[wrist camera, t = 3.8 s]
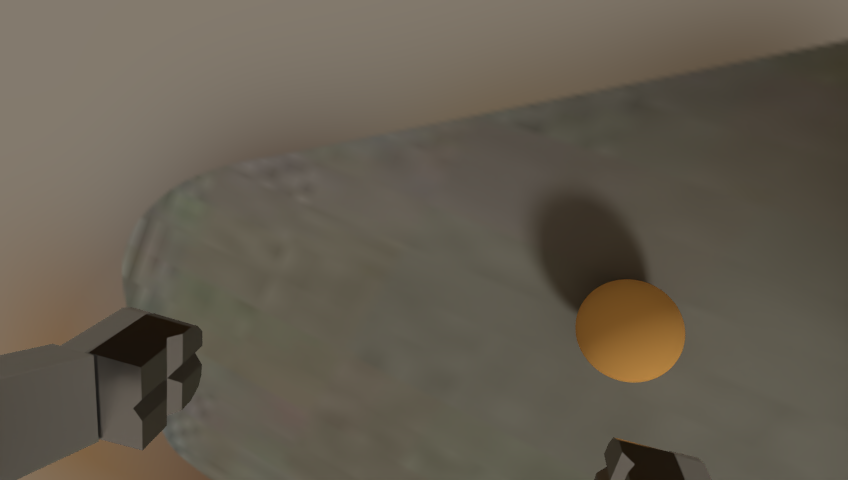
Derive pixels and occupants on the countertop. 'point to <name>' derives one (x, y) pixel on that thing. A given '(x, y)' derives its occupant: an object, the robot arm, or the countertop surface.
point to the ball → (630, 330)
